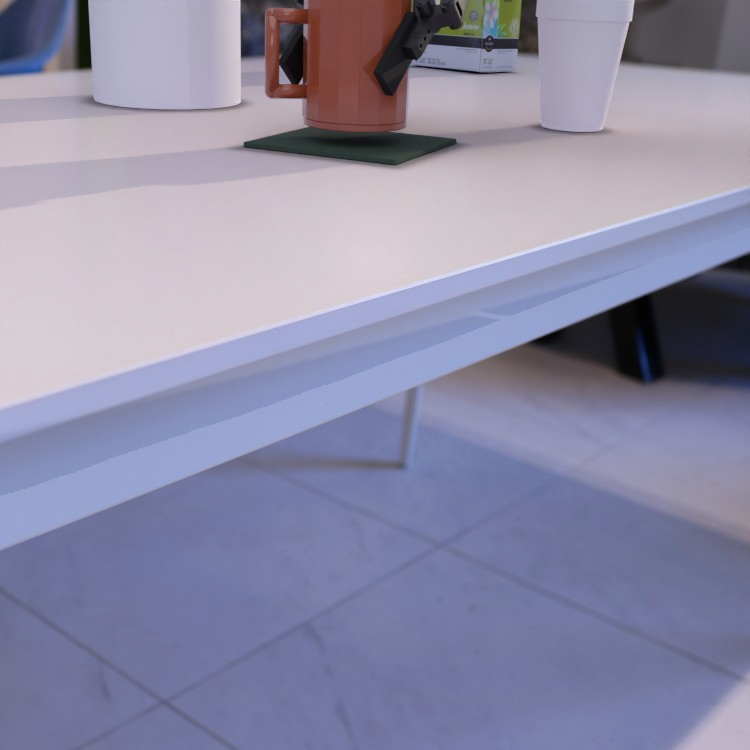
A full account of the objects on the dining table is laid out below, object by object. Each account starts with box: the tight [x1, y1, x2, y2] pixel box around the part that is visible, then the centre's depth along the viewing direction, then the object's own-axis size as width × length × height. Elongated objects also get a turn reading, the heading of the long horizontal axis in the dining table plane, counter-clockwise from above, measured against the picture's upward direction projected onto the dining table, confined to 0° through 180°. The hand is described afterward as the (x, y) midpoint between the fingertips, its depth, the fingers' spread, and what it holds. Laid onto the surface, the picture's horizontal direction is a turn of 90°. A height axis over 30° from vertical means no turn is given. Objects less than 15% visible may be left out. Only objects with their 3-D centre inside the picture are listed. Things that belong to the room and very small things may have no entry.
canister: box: [87, 0, 242, 111], centre depth 113 cm, size 16×16×20 cm
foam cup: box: [535, 0, 635, 133], centre depth 106 cm, size 10×9×13 cm
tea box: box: [410, 0, 523, 73], centre depth 167 cm, size 15×10×15 cm, turn 46°
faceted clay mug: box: [264, 0, 413, 132], centre depth 89 cm, size 12×9×11 cm
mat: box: [243, 126, 458, 166], centre depth 92 cm, size 14×14×1 cm
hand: (334, 78), depth 88 cm, fingers closed on faceted clay mug, 9 cm apart
